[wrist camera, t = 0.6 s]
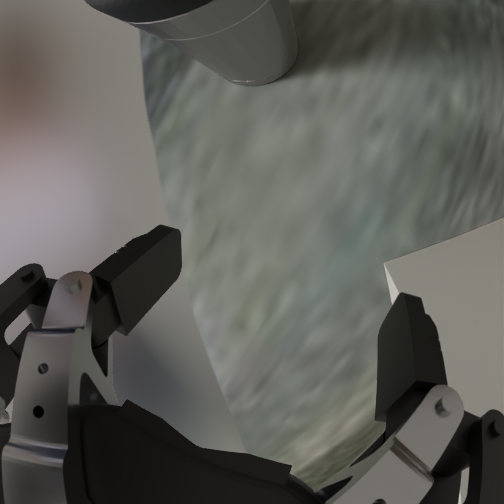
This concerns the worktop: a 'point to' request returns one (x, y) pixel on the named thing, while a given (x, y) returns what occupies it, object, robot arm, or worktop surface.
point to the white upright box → (463, 312)
